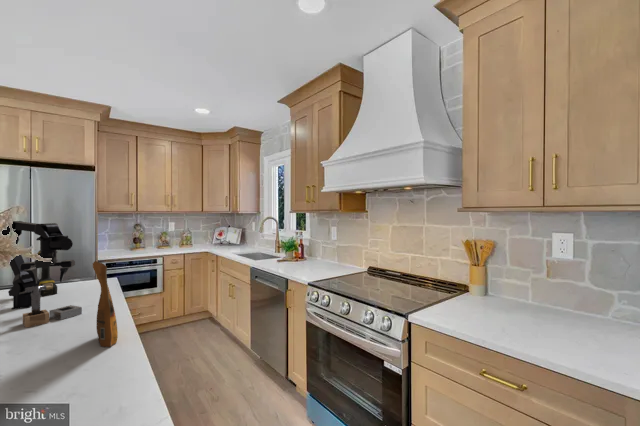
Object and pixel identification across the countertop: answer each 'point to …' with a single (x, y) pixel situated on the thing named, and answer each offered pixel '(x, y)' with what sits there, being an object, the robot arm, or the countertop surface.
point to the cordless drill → (47, 282)
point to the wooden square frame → (35, 318)
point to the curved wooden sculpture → (105, 310)
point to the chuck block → (65, 312)
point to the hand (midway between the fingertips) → (48, 282)
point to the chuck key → (35, 298)
